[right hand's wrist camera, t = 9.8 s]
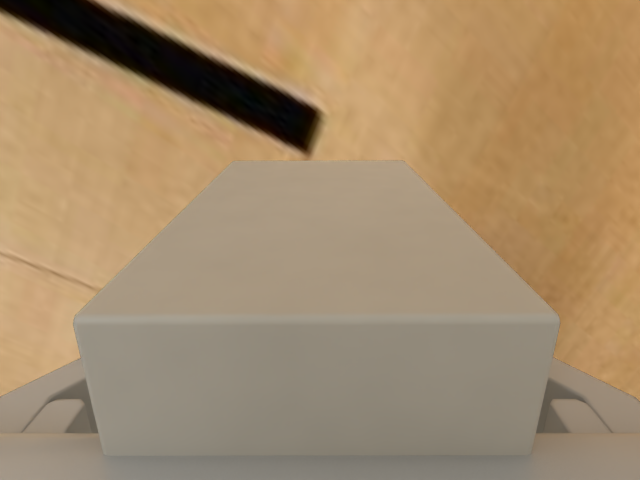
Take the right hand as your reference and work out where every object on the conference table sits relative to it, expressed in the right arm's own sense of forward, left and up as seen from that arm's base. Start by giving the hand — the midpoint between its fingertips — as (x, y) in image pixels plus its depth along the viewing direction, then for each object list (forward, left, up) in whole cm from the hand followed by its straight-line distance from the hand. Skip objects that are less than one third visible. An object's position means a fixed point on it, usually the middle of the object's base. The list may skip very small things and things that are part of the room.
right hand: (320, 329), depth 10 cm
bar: (+8, -1, -3) cm, 9 cm away
